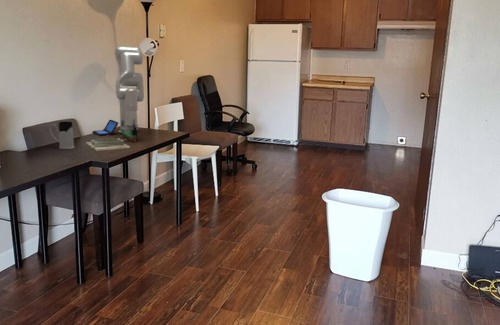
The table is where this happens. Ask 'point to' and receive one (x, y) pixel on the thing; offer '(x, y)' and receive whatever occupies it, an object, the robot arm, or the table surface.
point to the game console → (107, 129)
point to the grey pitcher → (65, 135)
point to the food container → (128, 133)
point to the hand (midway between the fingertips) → (132, 134)
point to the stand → (107, 144)
